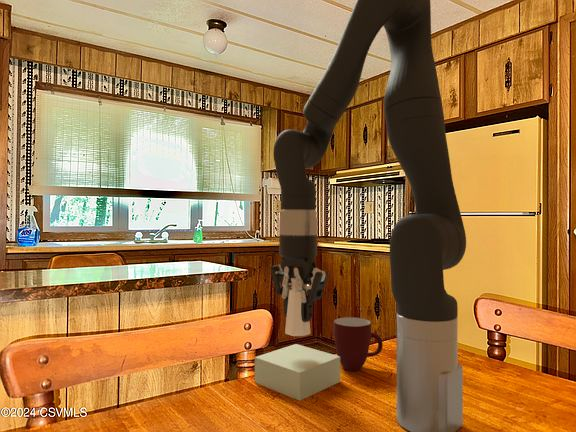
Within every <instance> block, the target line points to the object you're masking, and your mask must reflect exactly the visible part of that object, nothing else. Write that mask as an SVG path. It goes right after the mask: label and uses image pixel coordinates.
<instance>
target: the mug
mask: <svg viewBox="0 0 576 432" xmlns="http://www.w3.org/2000/svg"><path fill="white" fill-rule="evenodd" d="M333 339H334V344H335V352H336V355H337V356H340V365H341V366H342V368H343V369H345V370H346V371H350V372H351V371H352V372H356V371H357V372H358V371H360V370H361V369H363V367H364V365H365V363H366V361H367V360H368V359H367V358H370V357H375V356H377V355H378V356H379V354H381V352H382V350H383V344H384V343H383V341H382V337H381V336H380V335H379V334H378V333H376V332H372V322H371V320H368V319H366V318H362V317H355V316H354V317H351V316H349V317H348V316H347V317H339V318H336V319H334V320H333ZM372 339H375V340H376V342H377V345H378V346H377V348H376V350H375V351H372V352H369V349H370V344H371V340H372Z"/></svg>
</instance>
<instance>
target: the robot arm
mask: <svg viewBox="0 0 576 432" xmlns="http://www.w3.org/2000/svg"><path fill="white" fill-rule="evenodd" d="M431 11H432V10H431V0H356V2H355V4H354V7H353V9H352V11H351V14H350V17H349V18H348V21H347V23H346V25H345V28H344V30H343V31H342V35H341V37H340V39H339V42H338V43H337V47H336V49H335V51H334V54H333V55H332V58H331V59H330V62H329V64H328V65H327V67H326V69H325V71H324V73H323V75H322V76H321V78H320V79H319V81H318V83H317V84H316V86H315V88H314V89H313V91H312V92H311V94H310V96H309V98H308V99H307V102H306V103H305V105H304V107H303V110H302V114H303V117H304V118H305V119H306V120H307V121H306V125H305V127H304V129H303V130H302V131H301V130H296V129H285V130H283V131H282V132H280V133H279V134H278V136H277V137H276V139H275V142H274V145H273V161H274V167H275V170H276V175H277V180H278V184H279V187H280V214H279V220H278V221H279V225H278V226H279V227H278V229H279V230H278V231H279V232H278V236H279V237H278V241H279V242H278V243H279V245H278V251H279V252H278V254H279V256H280V257H281V261H280V264H277V265H272V266H270V273H271V277H272V281H273V286H274V290H275V294H276V295H277V296H278V295H280V296H281V298H282V299H283V314H284V318H286V317H287V307H288V297H289V290H290V289H292V288H291V287H292V285H291V284H292V281H291V278H296V281H297V287H298V291H300V294H301V299H302V302H303V303H301V317H302V321H303V322H308V321H310V322H311V320H312V318H313V316H314V313H313V312H314V311H313V309H314V306H313V304H314V302H315V301H317V300H321V299H322V296H323V294H324V290H325V286H326V283H327V280H328V277H329V272H328V270H321V269H320V268H317V266H318V265H317V264H316V258H317V257H316V256H317V255H318V218H317V188H316V184H315V182H313V181H312V180H310V179H309V178H308V175H307V172H306V171H307V170H306V169H311V168H313V167H315V166H316V165H318V164H319V163H320V161H321V160H322V159H323V157H324V156H325V154H326V152H327V150H328V147H329V144H330V142H331V139H332V137H333V133H334V130H335V128H336V125H337V124H338V122H339V121H340V119H341V118H342V116H343V114H345V112H346V110H347V108H348V107H349V105H351V103H352V101H353V99H354V97H355V95H356V92H357V90H358V87H359V85H360V83H361V82H360V81H361V78H362V73H363V68H364V66H365V63H366V58H367V56H368V53H369V51H370V48H371V46H372V44H373V42H374V40H375V39H376V37H377V35H378V33H379V32H380V31H381V30H382V28H384V30H385V33H386V36H387V37H386V38H387V41H388V46H389V53H390V59H391V60H390V63H391V64H390V72H389V76H388V79H387V82H386V86H385V91H384V98H383V107H384V109H383V111H384V117H385V118H384V119H385V125H386V126H385V127H386V134H387V139H388V142H389V145H390V148H391V150H392V152H393V154H394V156H395V158H396V160H397V161H398V164H399V165H400V168H401V169H402V170H403V172H404V174H405V175H406V176H405V177H406V178H407V180H408V182H409V185H410V187H411V191H412V195H413V201H414V202H413V203H414V208H415V209H414V210H415V214H414V213H413V214H408V215H405V216H403V217H401V218H400V219H398V221H397V222H396V223H395V225H394V226H393V229H392V231H391V235H390V240H389V268H390V269H389V270H390V287H391V293H392V295H393V296H392V297H393V299H394V301H395V304H396V421H397V424H398V425H400V426H401V427H402V428H404V429H405V430H407V431H409V432H457V431H458V430H459V429H460V428H462V427H463V423H464V421H463V419H464V417H463V416H464V415H463V411H464V410H463V407H464V406H463V405H464V404H463V401H464V399H463V396H464V394H463V392H464V391H463V390H464V389H463V388H464V387H463V383H464V381H463V379H464V378H463V372H464V371H463V365H462V364H460V363H458V360H459V359H458V313H459V311H458V308H459V307H458V301H457V299H456V298H455V297H454V296H452V295H451V294H449V293H448V292H447V290H446V289H445V282H444V281H445V279H444V270H445V271H446V270H450V269H452V268H455V267H456V266H457V265H458V264H460V262H461V261H462V259H463V258H464V256H465V253H466V248H467V237H466V230H465V227H464V226H465V225H464V221H463V218H462V214H461V210H460V205H459V201H458V198H457V194H456V189H455V187H454V181H453V175H452V168H451V161H450V154H449V147H448V142H447V141H448V140H447V133H446V123H445V122H446V121H445V115H444V114H445V113H444V108H443V101H442V95H441V90H440V85H439V79H438V71H437V67H436V62H435V58H434V52H433V51H434V50H433V45H432V44H433V42H432V15H431V14H432V12H431ZM306 290H307V292H306Z"/></svg>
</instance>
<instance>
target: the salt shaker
mask: <svg viewBox="0 0 576 432" xmlns="http://www.w3.org/2000/svg"><path fill="white" fill-rule="evenodd" d="M291 281H292V284H291V285H292V287H291V288H292V289H290V290H289V297H288V307H287V317H285V330H284V331H285V332H284V334H285V335H289V336H292V337H304V336H308V335H310V334H311V320H310V321H308V322H303V321H302V317H301V303H303V302H302V299H301V294H300V291H298V287H297V281H296V278H291ZM306 292H307V290H306Z"/></svg>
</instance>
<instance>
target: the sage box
mask: <svg viewBox="0 0 576 432" xmlns="http://www.w3.org/2000/svg"><path fill="white" fill-rule="evenodd" d="M340 382H341V363H340V356H337V354H332V353H329V352H326V351H322V350H319V349H315V348H311V347H308V346H304V345H302V344H297V343H294V344H292V345H289V346H285V347H282V348H279V349H276V350H273V351H271V352H270V351H269V352H267V353H264V354H260V355H257V356H254V383H255V384H258V385H260V386H263V387H265V388H267V389H270V390H272V391H275V392H278V393H279V394H282V395H284V396H287V397H289V398H291V399H294V400H297V401H300V402H301V401H302V400H304V399H306V398H309V397H312V396H313V395H316V394H317V393H319V392H321V391H324V390H325V389H327V388H330V387H332V386H334V385H337V384H338V383H340Z"/></svg>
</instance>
